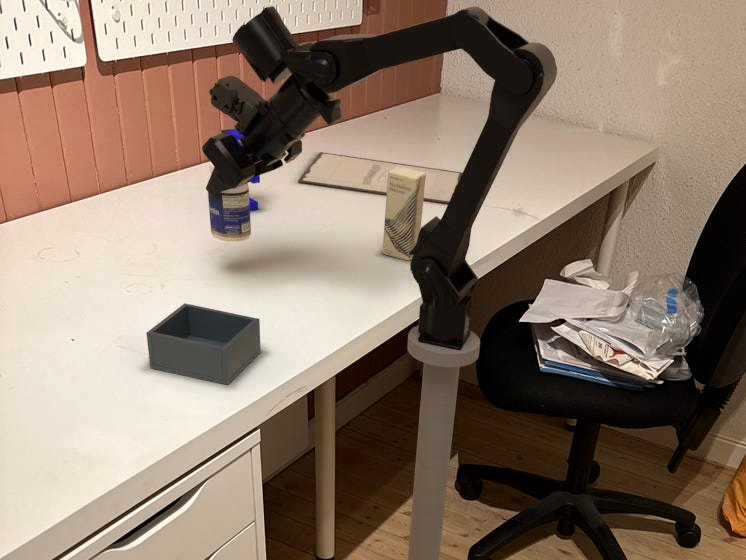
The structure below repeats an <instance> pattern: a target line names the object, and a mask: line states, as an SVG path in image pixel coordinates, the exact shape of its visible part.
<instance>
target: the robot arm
mask: <svg viewBox="0 0 746 560" xmlns="http://www.w3.org/2000/svg"><path fill="white" fill-rule="evenodd" d="M231 40H232V41H231V42H232V43H233V44H234V46H235V47H236V49H238V51H239V52H240V54H241V55H242V56H243V59H245V61H246V62H247V63H248V65H249V66H250V67H251V69H252V70H253V71H254V73H255V75H256V76H257V77H258V79H259V80H260V81H261V82H262V83H266V82H268V81H269V80H270V82H271V83H272V84H273V85H276V84H279V83H280V82H281V81H283V80H284V79H285V78H286V77H287V76H289V75H290V76H289V77H288V78H286V79H285V80H284V82H283V83H282V84H281V85H280V87H279V88H277V89H276V91H274V92H273V94H272V95H271V96H270V97H269V98H268V99H264V98H263V97H262V96H261V94H260V93H259V92H257V91H256V90H255V89H253V88H252V87H250V86H249V85H248V84H247V83H245V82H244V81H243V80H241V78H239V77H237V76H234V75H228V76H225V77H221V78H218V79H217V82H214V86H213V87H212V88H210V89H209V91H208V93H209V95H210V103H211V105H212V106H213V107H214V108H215V109H217V110H218V111H219V112H221V113H222V114H224V115H227V116H228V117H229V118H231V119H232V120H233V121H235V122H237V123H236V124H235V125H234V126H233V128H234V129H236V130H237V131H238V133H239V134H240V135H243V136H244V137H243V138H241V139H239V140H238V142H239V143H240V144H239V143H238V142H237V140H236V139H235V138H234V136H233V135H232V134H227V133H222V132H221V133H218V134H216V135H214V136H210V137H209V138H208V139H207V140H206V141H205V143H203V145H202V146H201V150H202V153H203V154H204V156H205V157H206V158H207V160H208V161H209V163H210V162H211V163H212V164H213V166H214V169H213V172H212V174H211V173H210V177H209V179H208V180H209V181H207V184H206V186H205V190H206V191H207V194H208V193H209V194H210V195H213V194H216V193H219V192H222V191H226V190H229V189H232V188H234V189H235V188H237V187H240V186H243V185H245V184H247V183H248V184H249V183H251V180H250V179H251V178H253V177H256V176H259V175H260V176H261V175H264V174H267V173H269V172H272V171H275V170H277V169H279V168H281V167H283V166H284V163H285V164H288V163H291V162H292V161H294V160H295V159H297V158H298V157H299V156H300V154H302V153H303V141H302V139H303V138H304V137H305V136H306V134H305V133H306V131H307V130H308V129H309V128H310V127H311V126H312V125H313V124H314V123H315V122H316V121H317V120H318V119H319V118H320V117H322V119H323V121H324V122H325V123H326V124H327V125H332V124H334V123H337V122H338V121H340V120H342V109H341V103H342V100H341V98H338V97H333V96H332V95H331V94H334V93H337V92H339V91H342V90H345V89H347V88H349V87H352V86H355V85H357V84H359V83H360V82H362V81H365V80H366V79H368V78H371V77H373V76H374V75H376V74H378V73H379V72H381V71H383V70H385V69H388V68H392V67H396V66H400V65H403V64H408V63H411V62H416V61H420V60H423V59H426V58H427V59H428V58H430V57H431V58H432V57H435V56H438V55H442V54H445V53H450V52H454V51H457V50H463V52H465V53H466V54H467V55H469V57H470V58H471V59H472V60H473V61H474V62H475V64H477V65H478V67H479V68H480V69H481V70H482V71H483V73H485V74H486V75H487V76H488V77H490V78H491V79H493V80H494V82H493V85H492V89H491V92H490V93H491V94H490V99H489V109H488V115H487V119H486V121H485V124H484V125H483V127H482V129H481V131H480V134H479V136H478V139H477V141H476V143H475V145H474V147H473V149H472V152H471V154H470V155H469V158H468V161H467V163H466V164H465V167H464V169H463V171H462V175H461V177H460V180H459V182H458V184H457V186H456V188H455V190H454V193H453V195H452V197H451V199H450V201H449V203H447V205H446V208H445V210H444V213H443V214H442V217H441V218H439V217H438V216H437V215H436V216H434V217H433V218H432V219H430V220H429V221H428V222H426V223H425V224H424V225H423V226H421V229H420V232H419V235H418V239H417V243H416V245H415V247H414V248H413V250H411V251H410V252H409V255H414V256H413V257H412V259H411V260H410V263H409V270H410V272H411V274H412V277H413V279H414V281H415V282H416V283H417V285H418V289H419V293H420V296H421V300H422V302H421V303H420V305H419V311H418V312H419V313H418V325H417V326H418V332H419V333H420V336H419V337H418V342H420V343H425V344H430V345H435V346H440V347H444V348H449V349H454V350H462V348H463V346H464V345H465V343H466V341H467V340H468V338H469V337H470V334H471V332H470V331H471V330H470V331H468V330H469V329H470V319H471V310H472V301H473V297H472V296H469V294H470V293H472V292H473V291H474V290H475V287H476V285H477V283H478V281H479V277H478V276H477V274H476V273H475V271H474V270H473V269H472V267H471V266H470V264H469V263H468V262H467V260H466V257H467V254H468V251H469V248H470V243H471V235H472V228H473V225H474V223H475V221H476V219H477V217H478V215H479V212H480V211H481V209H482V206H483V204H484V202H485V201H486V198H487V197H488V194H489V193H490V191H491V188H492V187H493V184H494V182H495V180H496V178H497V175H498V173H499V172H500V170H501V167H502V165H503V164H504V161H505V160H506V157H507V155H508V154H509V151H510V149H511V147H512V145H513V143H514V141H515V139H516V137H517V135H518V133H519V131H520V129H521V128H522V126H523V125H524V124H525V123H526V122H527V120H528V119H529V118H530V116H531V115H532V114H533V113H534V111H535V110H536V109H537V108H538V106H539V105H540V104H541V102H542V101H543V100H544V98H545V97H546V95H547V94H548V92H549V91H550V90H551V88H552V87H553V85H554V83H555V82H556V78H557V76H558V67H557V62H556V58H555V56H554V55H553V52H552V51H551V50H550V49H549V47H547V46H546V45H544V44H542V43H541V42H530V41H528V40H527V39H526V38H525V37H523V36H522V35H521V34H519V33H518V32H516V31H515V30H513V29H511V28H510V27H507V26H506V25H504V24H503V23H501V22H499V21H497V20H496V19H495V18H493V17H492V16H491V15H489V14H488V12H486V11H485V10H484V9H482V8H481V7H479V6H469V7H466V8H462V9H460V10H458V11H456V12H455V13H452V14H449V15H446V16H441V17H438V18H435V19H430V20H427V21H424V22H420V23H416V24H412V25H410V26H406V27H402V28H397V29H395V30H392V31H387V32H384V33H351V34H349V33H348V34H338V35H334V36H331V37H328V38H324V39H321V40H318V41H315V42H314V43H312V42H307V43H304V44H299V43H298V41H297V40H296V38H295V37H294V35H293V34H292V33H291V31H290V30H289V28H288V27H287V25H286V24H285V23H284V21H283V19H282V16H281V15H280V13H279V12H278V10H277V9H276V8H275V6H274V5H271V6H265V7H264V8H263V9H262V10H261V12H260V13H258V14H256V15H255V16H253V17H252V18H251V19H250V20H248V21H247V22H246V23H244V24H241V26H239V28H237V30H236V31H235V33H234V34H233V36H232V39H231ZM240 145H241V146H242V147H241V146H240ZM282 159H283V161H284V162H283V161H282Z"/></svg>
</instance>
